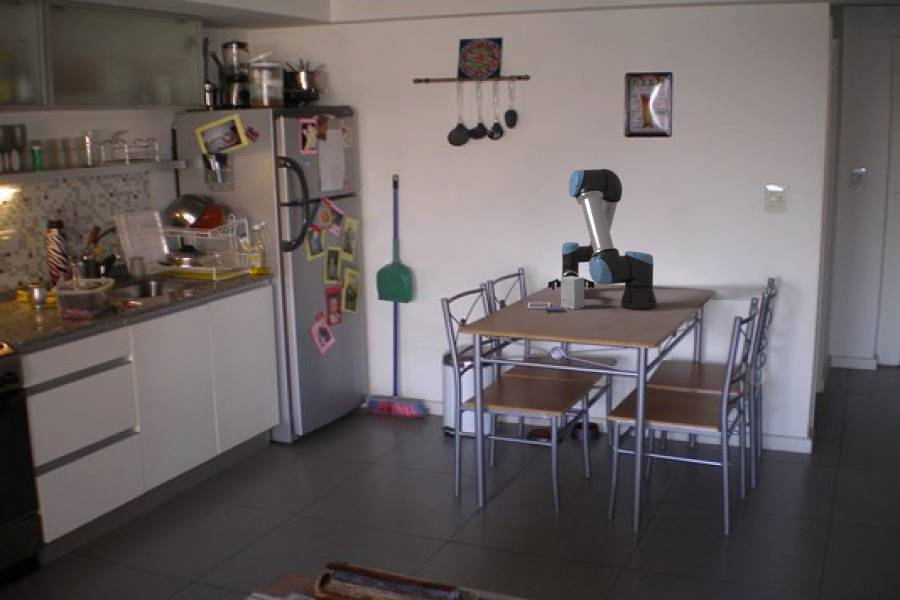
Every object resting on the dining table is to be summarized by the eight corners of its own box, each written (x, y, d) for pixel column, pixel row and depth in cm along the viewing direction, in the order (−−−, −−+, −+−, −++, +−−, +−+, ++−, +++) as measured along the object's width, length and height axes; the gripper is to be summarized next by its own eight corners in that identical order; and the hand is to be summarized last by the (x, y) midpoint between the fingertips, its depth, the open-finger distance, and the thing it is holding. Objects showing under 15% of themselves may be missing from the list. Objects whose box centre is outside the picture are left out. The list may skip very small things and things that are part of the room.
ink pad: (563, 309, 412) (563, 306, 412) (563, 312, 405) (563, 309, 405) (546, 309, 413) (546, 306, 413) (546, 312, 406) (546, 309, 406)
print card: (550, 304, 424) (550, 302, 424) (550, 309, 413) (550, 307, 413) (528, 304, 425) (528, 302, 425) (527, 309, 414) (527, 307, 414)
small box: (584, 307, 415) (584, 277, 413) (574, 309, 411) (574, 279, 409) (570, 305, 421) (570, 275, 419) (560, 307, 417) (560, 277, 415)
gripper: (598, 287, 441) (600, 296, 420) (543, 288, 444) (542, 296, 423) (598, 271, 440) (600, 279, 419) (543, 271, 443) (542, 279, 422)
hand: (571, 287), depth 421 cm, fingers open, 13 cm apart
